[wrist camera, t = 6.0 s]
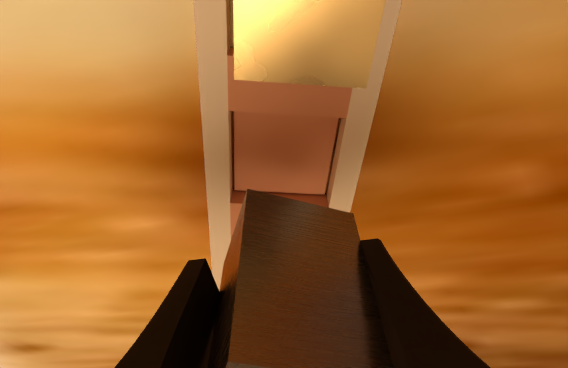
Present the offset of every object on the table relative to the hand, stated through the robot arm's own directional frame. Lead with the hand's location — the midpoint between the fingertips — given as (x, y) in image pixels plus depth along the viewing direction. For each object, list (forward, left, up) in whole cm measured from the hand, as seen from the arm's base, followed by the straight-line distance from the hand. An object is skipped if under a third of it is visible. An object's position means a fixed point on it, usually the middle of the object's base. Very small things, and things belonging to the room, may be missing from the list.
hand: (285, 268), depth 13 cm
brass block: (0, -8, -8) cm, 11 cm away
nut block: (0, 0, -1) cm, 1 cm away
